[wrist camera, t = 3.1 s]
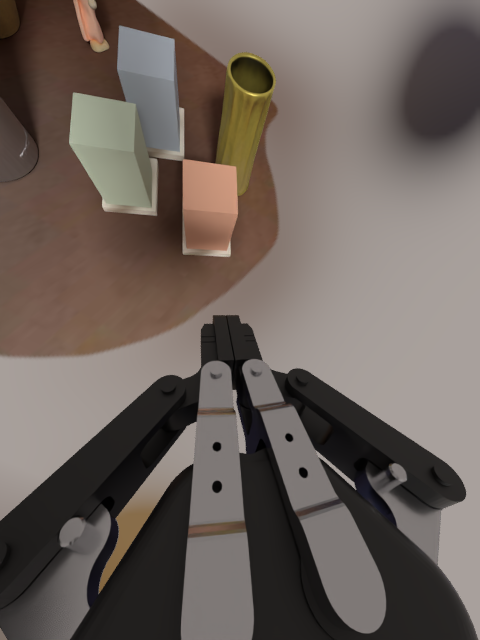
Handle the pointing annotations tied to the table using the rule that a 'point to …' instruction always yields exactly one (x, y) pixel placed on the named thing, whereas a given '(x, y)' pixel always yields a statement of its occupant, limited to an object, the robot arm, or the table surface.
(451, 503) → the robot arm
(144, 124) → the slate block
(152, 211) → the block bases
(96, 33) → the grandmother figurine
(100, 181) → the sage block
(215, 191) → the terracotta block
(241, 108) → the vase
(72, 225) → the table surface
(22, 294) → the table surface
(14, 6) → the plant pot
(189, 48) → the table surface
